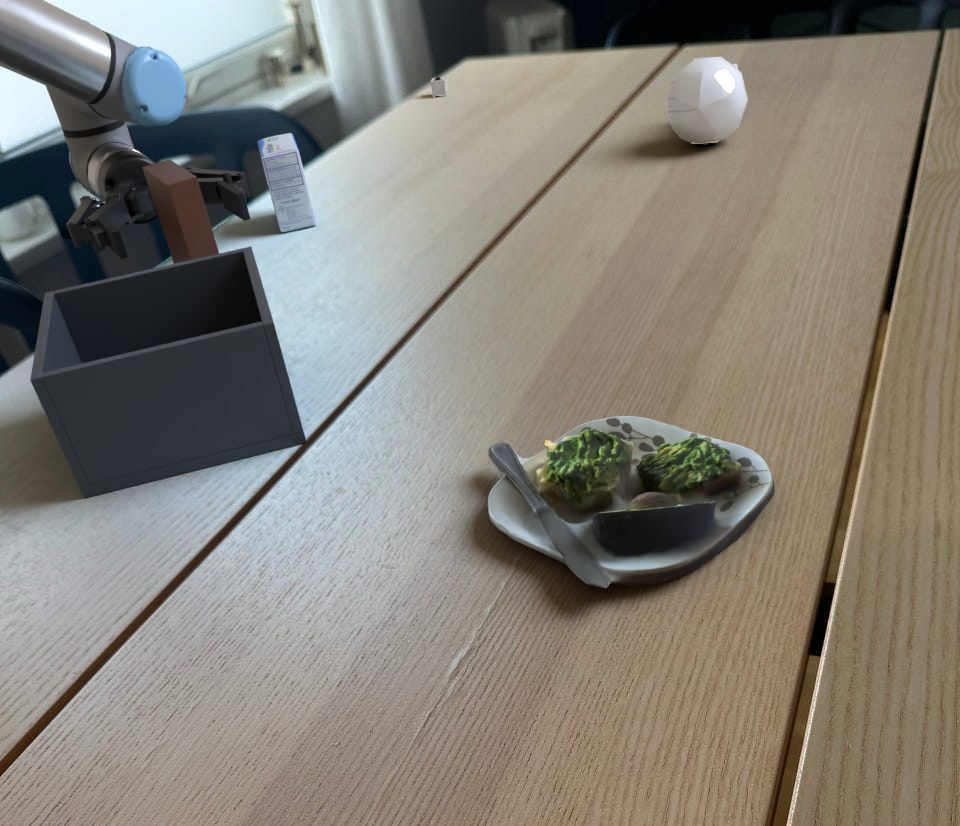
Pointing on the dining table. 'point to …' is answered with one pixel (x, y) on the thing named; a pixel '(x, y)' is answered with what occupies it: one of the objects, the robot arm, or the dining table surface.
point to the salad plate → (629, 499)
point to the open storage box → (163, 372)
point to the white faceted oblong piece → (706, 100)
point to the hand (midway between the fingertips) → (183, 225)
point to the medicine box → (286, 182)
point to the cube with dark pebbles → (438, 86)
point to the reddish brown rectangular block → (180, 211)
